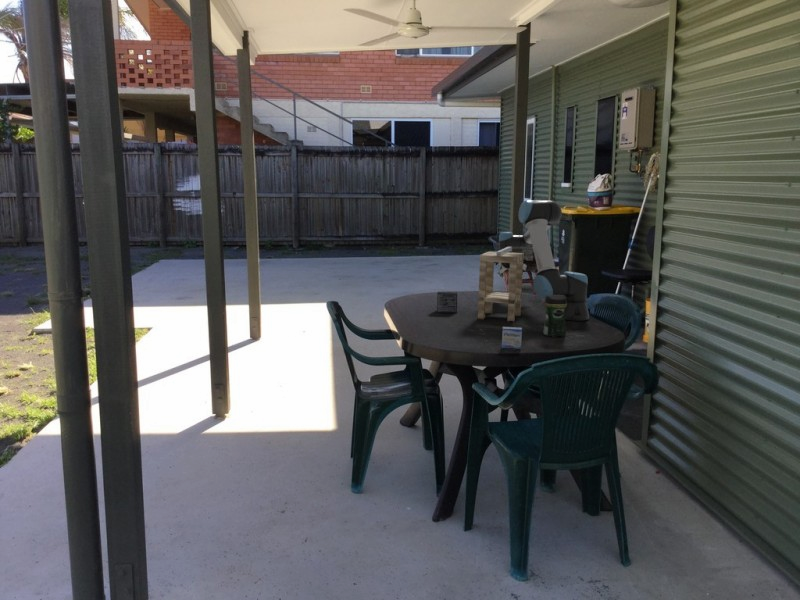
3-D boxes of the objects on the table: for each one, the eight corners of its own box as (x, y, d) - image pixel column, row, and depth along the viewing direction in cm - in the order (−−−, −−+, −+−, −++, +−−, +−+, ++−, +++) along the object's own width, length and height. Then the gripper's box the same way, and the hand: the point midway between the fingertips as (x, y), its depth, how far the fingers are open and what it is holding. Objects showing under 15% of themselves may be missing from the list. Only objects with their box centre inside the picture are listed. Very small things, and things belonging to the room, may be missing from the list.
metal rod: (507, 250, 348) (508, 246, 348) (511, 250, 348) (511, 246, 347) (496, 255, 325) (496, 251, 324) (500, 256, 324) (500, 251, 324)
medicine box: (501, 349, 275) (502, 328, 273) (501, 346, 279) (502, 326, 278) (521, 350, 274) (522, 329, 272) (520, 347, 278) (521, 327, 276)
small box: (457, 311, 351) (457, 291, 349) (457, 313, 345) (457, 293, 343) (437, 310, 352) (437, 290, 350) (436, 312, 346) (437, 292, 344)
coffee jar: (561, 333, 304) (563, 293, 301) (567, 337, 296) (570, 296, 293) (540, 333, 303) (543, 293, 300) (546, 337, 295) (548, 296, 292)
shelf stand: (486, 312, 349) (488, 251, 343) (520, 315, 343) (523, 253, 337) (477, 318, 332) (480, 255, 327) (513, 321, 326) (516, 257, 320)
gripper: (527, 271, 375) (534, 276, 354) (484, 263, 374) (488, 268, 353) (530, 258, 373) (537, 263, 353) (487, 250, 373) (491, 254, 352)
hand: (513, 265), depth 353 cm, fingers open, 13 cm apart
